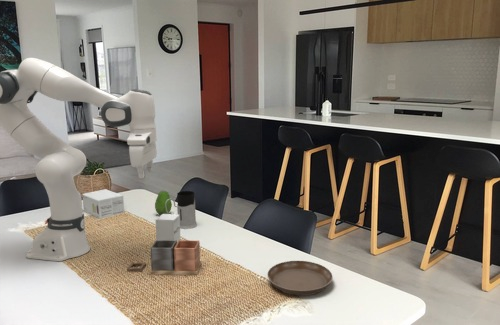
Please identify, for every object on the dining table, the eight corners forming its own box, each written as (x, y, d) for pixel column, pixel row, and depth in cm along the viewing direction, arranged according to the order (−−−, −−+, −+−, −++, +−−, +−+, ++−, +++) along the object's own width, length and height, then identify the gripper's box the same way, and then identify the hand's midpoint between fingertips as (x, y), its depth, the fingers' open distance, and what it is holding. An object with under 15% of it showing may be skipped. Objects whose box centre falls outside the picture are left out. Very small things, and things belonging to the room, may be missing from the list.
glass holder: (200, 226, 196) (199, 193, 193) (170, 232, 188) (169, 199, 185) (191, 221, 203) (190, 189, 200) (162, 227, 195) (160, 194, 192)
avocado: (170, 217, 209) (169, 192, 206) (153, 217, 209) (152, 192, 206) (173, 212, 216) (172, 188, 214) (157, 212, 217) (156, 188, 214)
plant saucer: (315, 306, 128) (316, 295, 127) (255, 288, 139) (255, 278, 138) (341, 278, 145) (342, 269, 144) (286, 264, 156) (286, 256, 155)
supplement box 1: (83, 212, 219) (81, 193, 217) (107, 206, 228) (106, 188, 226) (99, 219, 207) (98, 200, 205) (124, 213, 216) (123, 194, 214)
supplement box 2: (174, 252, 168) (173, 220, 165) (156, 250, 169) (154, 219, 167) (181, 244, 175) (180, 214, 172) (163, 243, 176) (162, 213, 174)
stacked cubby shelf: (150, 274, 149) (148, 249, 147) (157, 263, 158) (155, 239, 156) (197, 274, 148) (196, 249, 146) (201, 263, 157) (200, 239, 155)
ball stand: (126, 271, 151) (126, 268, 151) (131, 265, 156) (131, 262, 156) (141, 271, 151) (141, 268, 151) (146, 265, 156) (145, 262, 156)
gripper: (143, 132, 165) (145, 168, 167) (125, 140, 145) (127, 181, 147) (159, 132, 165) (161, 168, 167) (144, 140, 144) (146, 181, 147)
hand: (145, 174), depth 157 cm, fingers open, 8 cm apart
